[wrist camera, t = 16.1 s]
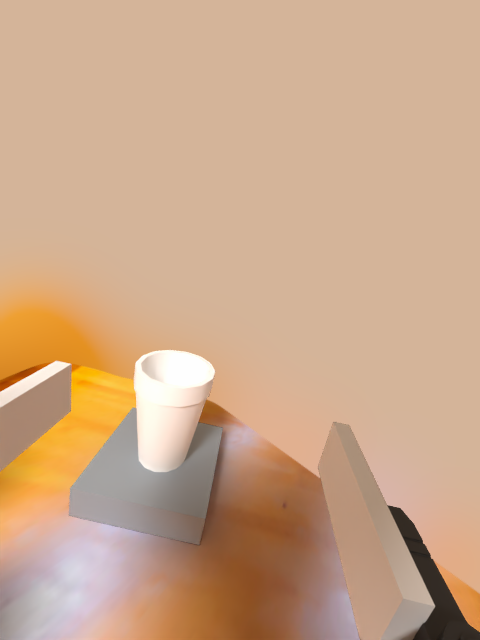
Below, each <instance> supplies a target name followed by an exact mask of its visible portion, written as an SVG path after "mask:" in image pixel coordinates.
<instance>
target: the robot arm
mask: <svg viewBox="0 0 480 640" xmlns="http://www.w3.org/2000/svg"><path fill="white" fill-rule="evenodd" d="M70 411H71V364H69V363H64V362H59V361H55V362H54V363H52V364H50V365H48V366H46V367H45V368H43V369H41V370H39V371H37V372H35V373H34V374H32V375H30V376H28V377H26V378H25V379H23V380H21V381H19V382H17V383H16V384H14V385H12V386H10V387H8V388H7V389H5V390H3V391H1V392H0V471H1V470H2V469H4V468H5V467H6V466H7V465H8V464H9V463H11V462H12V461H13V460H14V459H15V458H17V457H18V456H19V455H20V454H21V453H22V452H24V451H25V450H26V449H27V448H28V447H29V446H31V445H32V444H33V443H34V442H35V441H36V440H38V439H39V438H40V437H41V436H42V435H43V434H45V433H46V432H47V431H48V430H49V429H50V428H52V427H53V426H54V425H55V424H56V423H57V422H59V421H60V420H61V419H62V418H63V417H64V416H66V415H67V414H68V413H69V412H70ZM318 470H319V474H320V478H321V482H322V486H323V490H324V494H325V498H326V502H327V507H328V511H329V515H330V519H331V523H332V527H333V531H334V535H335V539H336V544H337V548H338V552H339V556H340V560H341V564H342V568H343V572H344V576H345V581H346V585H347V589H348V593H349V597H350V601H351V605H352V609H353V613H354V617H355V622H356V626H357V630H358V634H359V638H360V640H480V632H479V631H477V630H476V629H474V628H473V627H471V626H470V625H469V624H468V623H467V621H466V620H465V618H464V616H463V615H462V613H461V611H460V609H459V607H458V605H457V603H456V602H455V600H454V598H453V596H452V594H451V592H450V590H449V589H448V587H447V585H446V583H445V581H444V579H443V577H442V576H441V574H440V572H439V570H438V568H437V566H436V564H435V563H434V561H433V559H431V555H430V553H429V552H428V550H427V548H426V546H425V544H423V540H422V538H421V537H420V535H419V533H418V531H417V529H416V527H415V525H414V524H413V522H412V521H411V520H410V519H409V518H408V517H407V515H406V514H405V513H404V512H403V511H402V510H401V509H400V508H397V507H393V506H388V505H387V504H386V502H385V500H384V497H383V495H382V493H381V491H380V489H379V487H378V485H377V483H376V481H375V478H374V476H373V474H372V472H371V470H370V468H369V466H368V464H367V462H366V459H365V458H364V455H363V453H362V451H361V449H360V447H359V445H358V443H357V441H356V438H355V436H354V434H353V432H352V430H351V428H350V426H349V425H346V424H341V423H337V422H333V424H332V427H331V430H330V433H329V436H328V439H327V442H326V445H325V448H324V451H323V453H322V456H321V459H320V462H319V465H318Z"/></svg>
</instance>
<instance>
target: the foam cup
mask: <svg viewBox="0 0 480 640" xmlns="http://www.w3.org/2000/svg"><path fill="white" fill-rule="evenodd" d="M214 374H215V370H214V368H213V367H212V365H211V363H209V362H208V361H206V360H205V359H203V358H202V357H200V356H197V355H194V354H191V353H188V352H182V351H175V350H164V351H154V352H151V353H148V354H145V355H143V356H142V357H141V358H140V359H139V360H138V361H137V362H136V364H135V373H134V390H135V391H136V407H137V433H138V456H139V461H140V462H141V464H142V465H143V466H144V468H146V469H149V470H151V471H153V472H168V471H171V470H174V469H177V468H178V467H179V466H180V465H181V464H182V463H183V462H184V460H185V458H186V455H187V452H188V449H189V447H190V444H191V441H192V438H193V435H194V433H195V430H196V427H197V424H198V421H199V418H200V416H201V413H202V410H203V407H204V404H205V402H206V399H207V397H209V395H210V391H211V388H212V384H213V379H214Z"/></svg>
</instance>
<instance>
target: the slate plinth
mask: <svg viewBox="0 0 480 640" xmlns="http://www.w3.org/2000/svg"><path fill="white" fill-rule="evenodd" d="M222 430H223V428H222V427H217V426H213V425H208V424H204V423H199V422H198V424H197V427H196V430H195V433H194V435H193V438H192V441H191V444H190V447H189V449H188V452H187V455H186V458H185V460H184V462H183V463H182V464H181V465H180V466H179V467H178V468H177V469H174V470H171V471H168V472H153V471H151V470H149V469H146V468H144V466H143V465H142V464H141V462H140V461H139V456H138V433H137V408H132V410H131V411H130V412H129V413H128V415H127V416H126V417H125V419H124V420H123V421H122V422H121V424H120V425H119V426H118V428H117V429H116V430H115V431H114V433H113V434H112V435H111V437H110V438H109V439H108V440H107V442H106V443H105V444H104V446H103V447H102V448H101V449H100V451H99V452H98V453H97V455H96V456H95V457H94V458H93V460H92V461H91V462H90V464H89V465H88V466H87V467H86V469H85V470H84V471H83V473H82V474H81V475H80V476H79V478H78V479H77V480H76V482H75V483H74V484H73V485H72V487H71V488H70V505H69V516H72V517H77V518H81V519H86V520H90V521H95V522H99V523H103V524H108V525H112V526H117V527H121V528H125V529H130V530H134V531H139V532H143V533H148V534H152V535H156V536H161V537H165V538H170V539H174V540H178V541H183V542H187V543H192V544H196V545H200V541H201V536H202V532H203V528H204V524H205V519H206V514H207V509H208V504H209V498H210V493H211V488H212V483H213V477H214V472H215V467H216V462H217V456H218V451H219V446H220V441H221V435H222Z"/></svg>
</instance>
